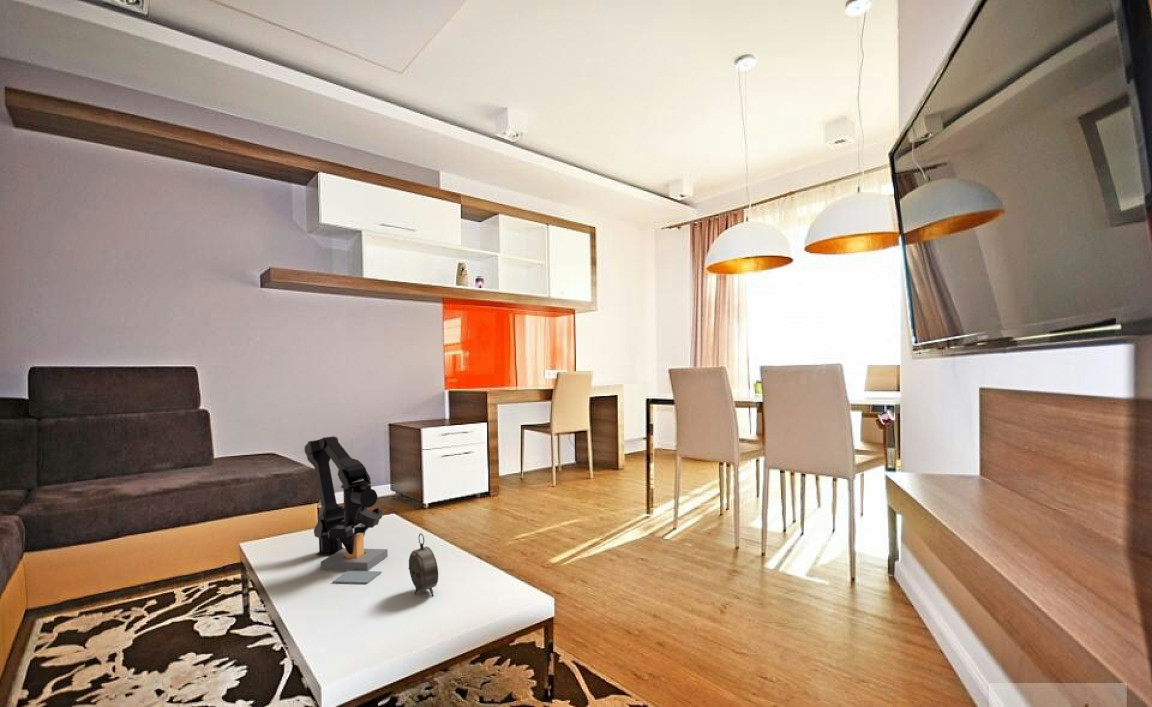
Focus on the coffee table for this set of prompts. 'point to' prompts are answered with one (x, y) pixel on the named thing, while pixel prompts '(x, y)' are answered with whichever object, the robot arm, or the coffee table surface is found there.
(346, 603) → the coffee table surface
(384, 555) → the holder
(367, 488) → the robot arm
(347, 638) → the coffee table surface
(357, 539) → the orange block
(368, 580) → the mat
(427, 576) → the alarm clock
